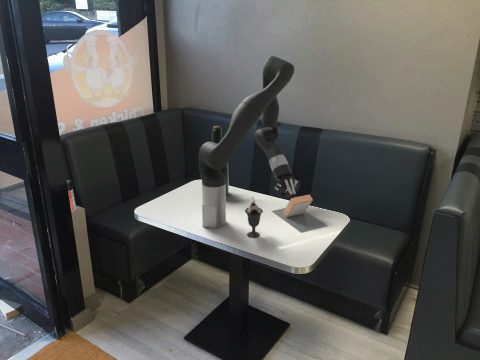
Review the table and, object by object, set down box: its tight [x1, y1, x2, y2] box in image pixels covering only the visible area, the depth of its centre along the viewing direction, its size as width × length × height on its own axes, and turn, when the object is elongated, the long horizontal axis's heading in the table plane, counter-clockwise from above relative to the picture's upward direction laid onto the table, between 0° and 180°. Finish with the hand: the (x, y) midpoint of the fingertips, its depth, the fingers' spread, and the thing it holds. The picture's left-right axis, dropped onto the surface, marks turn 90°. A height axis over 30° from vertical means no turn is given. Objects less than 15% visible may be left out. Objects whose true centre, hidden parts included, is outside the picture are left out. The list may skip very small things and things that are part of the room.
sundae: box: [244, 196, 264, 239], centre depth 149 cm, size 7×7×15 cm
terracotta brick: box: [283, 194, 314, 218], centre depth 163 cm, size 3×9×10 cm
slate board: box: [271, 207, 329, 234], centre depth 164 cm, size 22×13×1 cm, turn 27°
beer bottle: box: [211, 125, 230, 197], centre depth 183 cm, size 10×10×33 cm
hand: (295, 203), depth 165 cm, fingers closed
